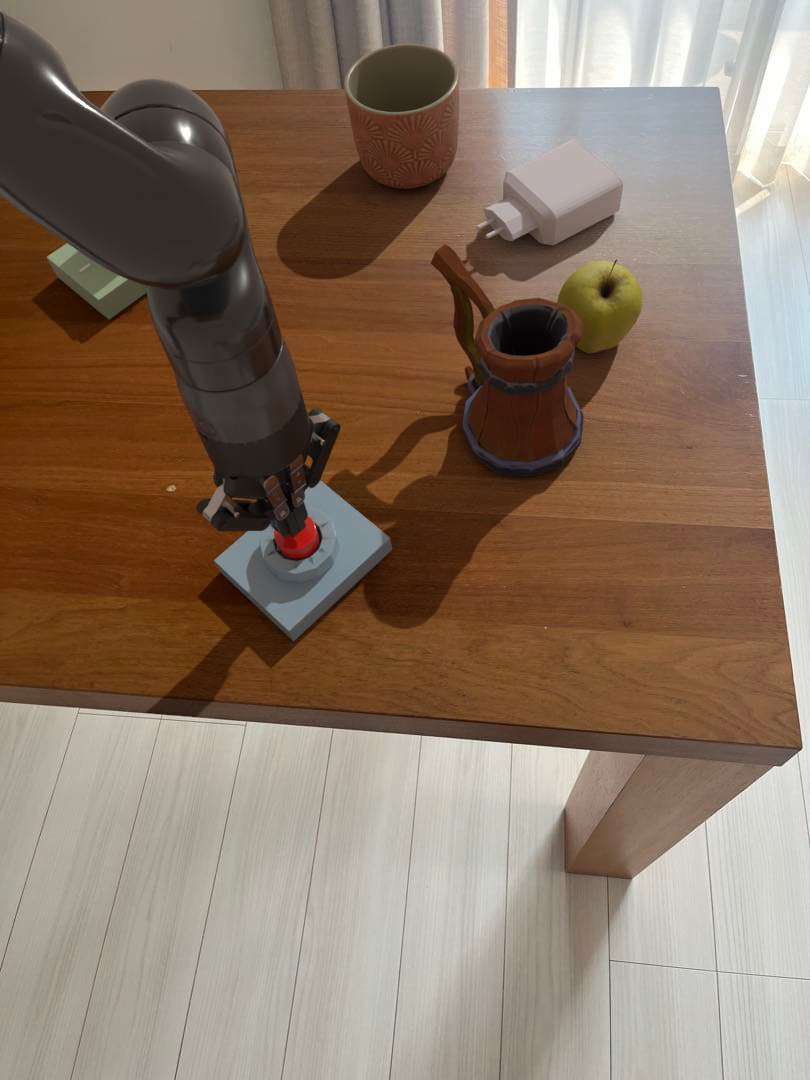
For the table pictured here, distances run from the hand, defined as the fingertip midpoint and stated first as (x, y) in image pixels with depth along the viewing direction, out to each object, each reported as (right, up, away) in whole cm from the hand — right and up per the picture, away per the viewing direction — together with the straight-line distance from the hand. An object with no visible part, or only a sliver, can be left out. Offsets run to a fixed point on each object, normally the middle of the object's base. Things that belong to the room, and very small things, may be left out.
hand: (291, 526), depth 74 cm
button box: (+1, -3, +5) cm, 6 cm away
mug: (+19, +11, +12) cm, 25 cm away
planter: (+10, +43, +31) cm, 54 cm away
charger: (+24, +34, +24) cm, 48 cm away
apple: (+29, +19, +16) cm, 38 cm away
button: (0, -1, +2) cm, 3 cm away
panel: (-22, +30, +26) cm, 45 cm away
